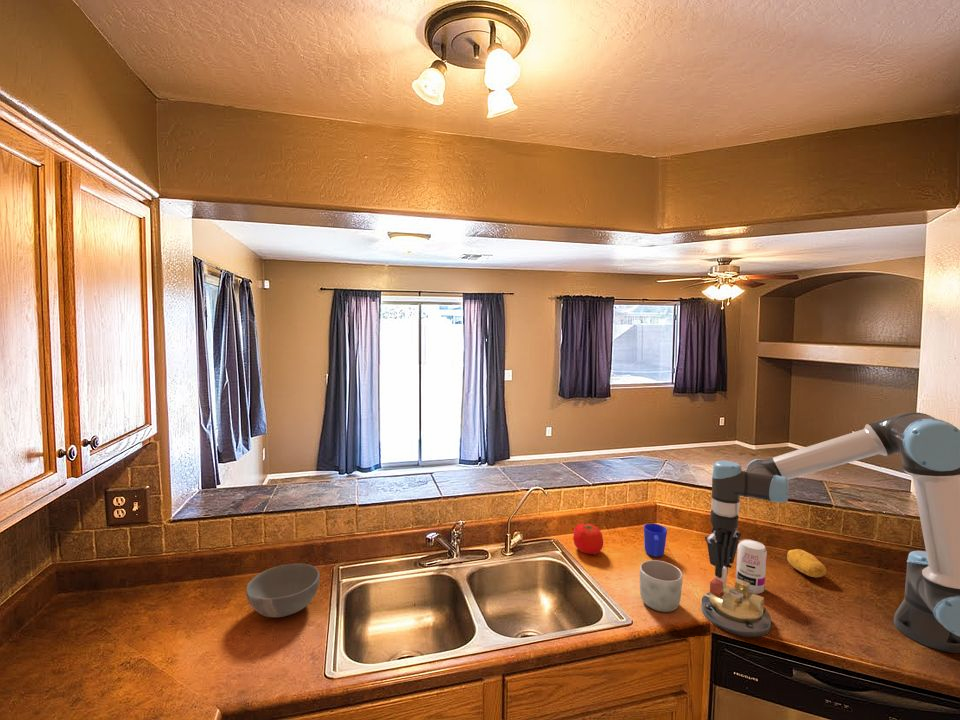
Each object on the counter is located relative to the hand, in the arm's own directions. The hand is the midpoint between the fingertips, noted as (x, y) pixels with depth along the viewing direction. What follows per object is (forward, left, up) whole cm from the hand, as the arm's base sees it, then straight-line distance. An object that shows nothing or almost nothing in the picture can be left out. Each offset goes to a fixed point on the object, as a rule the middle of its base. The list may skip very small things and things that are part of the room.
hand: (720, 586), depth 141 cm
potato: (-13, -43, -7) cm, 45 cm away
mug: (+28, -14, -7) cm, 32 cm away
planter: (+13, +13, -7) cm, 20 cm away
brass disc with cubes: (-5, +2, -4) cm, 7 cm away
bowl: (+87, +101, -7) cm, 134 cm away
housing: (-5, +2, -6) cm, 8 cm away
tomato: (+47, +2, -7) cm, 48 cm away
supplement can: (-3, -18, -7) cm, 19 cm away
